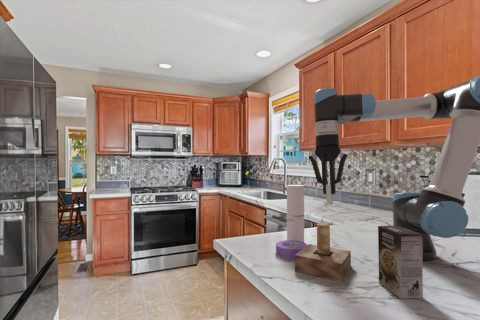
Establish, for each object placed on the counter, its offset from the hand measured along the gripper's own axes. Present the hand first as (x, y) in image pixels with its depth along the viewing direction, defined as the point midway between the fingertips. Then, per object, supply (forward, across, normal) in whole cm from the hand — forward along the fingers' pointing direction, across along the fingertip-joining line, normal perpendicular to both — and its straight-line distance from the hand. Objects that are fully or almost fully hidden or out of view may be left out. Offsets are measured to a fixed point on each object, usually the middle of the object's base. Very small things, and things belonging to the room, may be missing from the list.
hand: (329, 203), depth 88 cm
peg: (+20, -2, -6) cm, 21 cm away
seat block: (+20, -2, -6) cm, 21 cm away
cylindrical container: (+20, -18, +15) cm, 31 cm away
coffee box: (+21, +19, -10) cm, 30 cm away
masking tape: (+20, -15, +3) cm, 26 cm away
